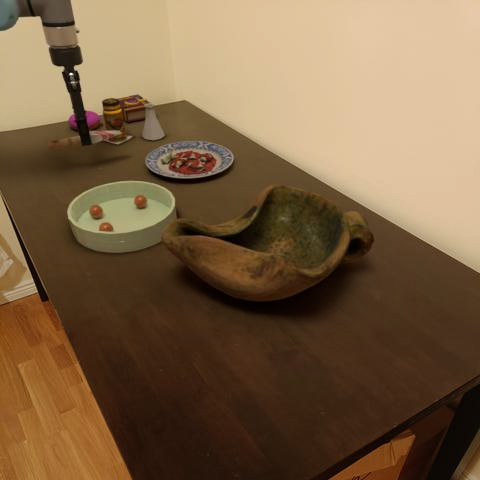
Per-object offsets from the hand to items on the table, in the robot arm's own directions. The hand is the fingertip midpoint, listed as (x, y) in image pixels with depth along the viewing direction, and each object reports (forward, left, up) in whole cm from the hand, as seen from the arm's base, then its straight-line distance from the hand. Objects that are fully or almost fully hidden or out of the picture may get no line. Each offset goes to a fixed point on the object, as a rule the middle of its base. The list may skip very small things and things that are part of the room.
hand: (86, 141), depth 121 cm
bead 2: (-2, -40, -5) cm, 40 cm away
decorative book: (+20, +41, -8) cm, 46 cm away
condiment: (+10, +20, -8) cm, 24 cm away
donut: (+2, +34, -8) cm, 35 cm away
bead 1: (-3, -31, -5) cm, 32 cm away
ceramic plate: (+27, -9, -8) cm, 30 cm away
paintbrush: (0, 0, -1) cm, 1 cm away
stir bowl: (+3, -35, -8) cm, 36 cm away
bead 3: (+8, -30, -5) cm, 32 cm away
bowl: (+27, -68, -8) cm, 74 cm away
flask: (+22, +17, -8) cm, 29 cm away
